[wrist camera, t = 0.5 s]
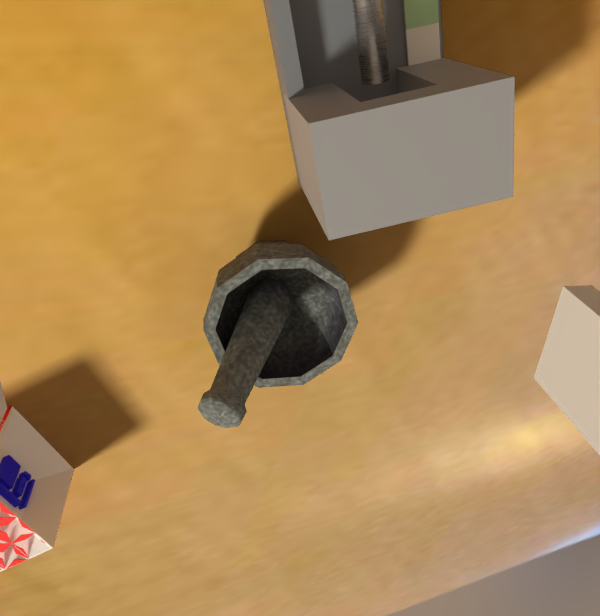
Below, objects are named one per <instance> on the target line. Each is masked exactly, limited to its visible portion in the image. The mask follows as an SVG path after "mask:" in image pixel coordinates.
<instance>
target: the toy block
mask: <svg viewBox="0 0 600 616" xmlns="http://www.w3.org/2000/svg"><path fill="white" fill-rule="evenodd" d="M73 472H74V468H73V467H72V466H71V465H70V464H69V463H68V462H67V461H66V460H65V459H64V458H63V457H62V456H61V455H60V454H59V453H58V452H57V451H56V450H55V449H54V448H53V447H52V446H51V445H50V444H49V443H48V442H47V441H46V440H45V439H44V438H43V437H42V436H41V435H40V434H39V433H38V432H37V431H36V430H35V429H34V428H33V427H32V425H31V424H30V423H29V422H28V421H27V420H26V419H25V418H24V417H23V416H22V415H21V414H20V413H19V412H18V411H17V410H16V409H15V408H14V407H13V406H11V407H9V408H7V410H6V412H5V414H4V417H3V419H2V421H1V423H0V572H1V571H3V570H5V569H8V568H10V567H12V566H14V565H16V564H19V563H21V562H23V561H25V560H28V559H30V558H32V557H34V556H37V555H39V554H41V553H43V552H45V551H48V550H50V549H52V548H53V547H54V543H55V539H56V535H57V532H58V528H59V524H60V520H61V517H62V513H63V509H64V505H65V502H66V498H67V494H68V490H69V487H70V483H71V479H72V476H73Z"/></svg>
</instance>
